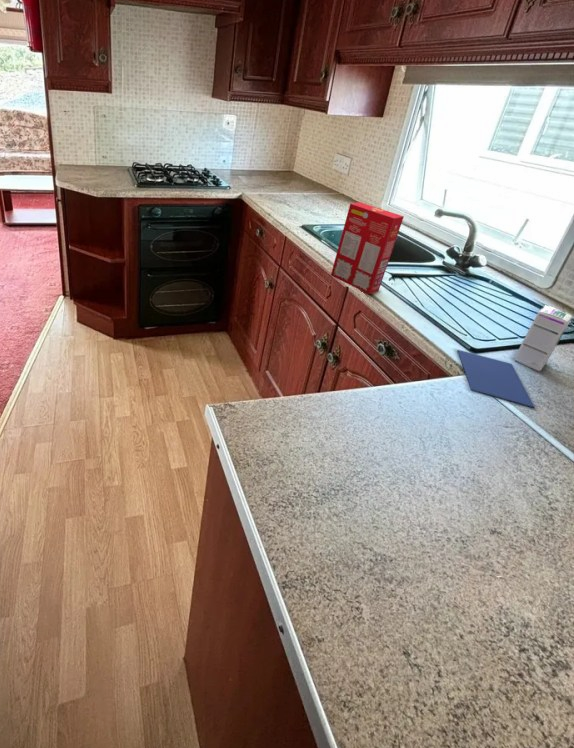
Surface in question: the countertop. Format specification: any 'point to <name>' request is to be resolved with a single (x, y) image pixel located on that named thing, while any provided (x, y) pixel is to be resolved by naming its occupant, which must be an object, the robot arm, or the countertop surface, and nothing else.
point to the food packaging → (366, 246)
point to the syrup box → (543, 337)
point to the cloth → (494, 378)
